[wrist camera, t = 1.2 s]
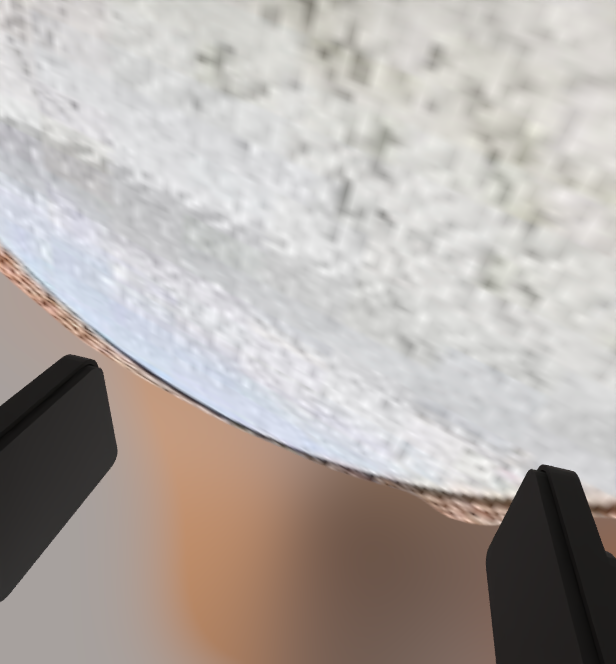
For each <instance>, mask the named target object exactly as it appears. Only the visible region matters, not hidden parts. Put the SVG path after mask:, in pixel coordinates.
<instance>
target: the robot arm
mask: <svg viewBox="0 0 616 664" xmlns="http://www.w3.org/2000/svg"><path fill="white" fill-rule="evenodd" d="M116 457H117V445H116V440H115V434H114V429H113V424H112V418H111V412H110V407H109V402H108V396H107V391H106V386H105V380H104V375H103V371H102V369H101V368H99V367H98V365H97V362H96V361H95V360H92V359H88V358H84V357H80V356H76V355H71V354H69V355H66V356H64V357H62V358H61V359H60V360H58V361H57V362H56V363H55V364H53V365H52V366H51V367H50V368H48V369H47V370H46V371H44V372H43V373H42V374H41V375H39V376H38V377H37V378H36V379H34V380H33V381H32V382H31V383H29V384H28V385H27V386H25V387H24V388H23V389H22V390H20V391H19V392H18V393H16V394H15V395H14V396H13V397H11V398H10V399H9V400H8V401H6V402H5V403H4V404H2V405H1V406H0V602H1V601H3V600H4V599H5V598H6V597H7V596H8V595H9V594H10V593H11V592H12V590H13V589H14V588H15V587H16V585H17V584H18V583H19V582H20V580H21V579H22V578H23V576H24V575H25V574H26V573H27V572H28V570H29V569H30V568H31V566H32V565H33V564H34V563H35V562H36V560H37V559H38V558H39V557H40V555H41V554H42V553H43V552H44V550H45V549H46V548H47V547H48V545H49V544H50V543H51V542H52V540H53V539H54V538H55V537H56V535H57V534H58V533H59V532H60V530H61V529H62V528H63V527H64V525H65V524H66V523H67V522H68V520H69V519H70V518H71V517H72V515H73V514H74V513H75V512H76V510H77V509H78V508H79V507H80V506H81V504H82V503H83V502H84V500H85V499H86V498H87V497H88V495H89V494H90V493H91V492H92V491H93V489H94V488H95V487H96V486H97V484H98V483H99V482H100V480H101V479H102V478H103V477H104V475H105V474H106V473H107V472H108V471H109V469H110V468H111V467H112V465H113V464H114V462H115V460H116ZM486 571H487V580H488V590H489V600H490V609H491V617H492V627H493V637H494V646H495V656H496V664H616V558H615V557H614V556H613V555H612V554H611V553H609V552H607V551H605V550H604V547H603V544H602V541H601V538H600V536H599V533H598V530H597V527H596V524H595V521H594V519H593V516H592V513H591V510H590V507H589V505H588V502H587V499H586V496H585V493H584V491H583V488H582V485H581V482H580V479H579V477H578V475H577V474H576V473H575V472H574V471H570V470H566V469H561V468H557V467H553V466H549V465H543V464H542V465H541V466H539V468H538V469H537V470H533V469H530V470H529V471H528V472H527V474H526V476H525V478H524V480H523V482H522V484H521V485H520V487H519V489H518V491H517V493H516V495H515V497H514V499H513V501H512V503H511V505H510V507H509V509H508V511H507V513H506V515H505V517H504V519H503V521H502V523H501V525H500V526H499V529H498V531H497V532H496V534H495V536H494V538H493V541H492V542H491V544H490V546H489V549H488V551H487V556H486Z"/></svg>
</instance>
